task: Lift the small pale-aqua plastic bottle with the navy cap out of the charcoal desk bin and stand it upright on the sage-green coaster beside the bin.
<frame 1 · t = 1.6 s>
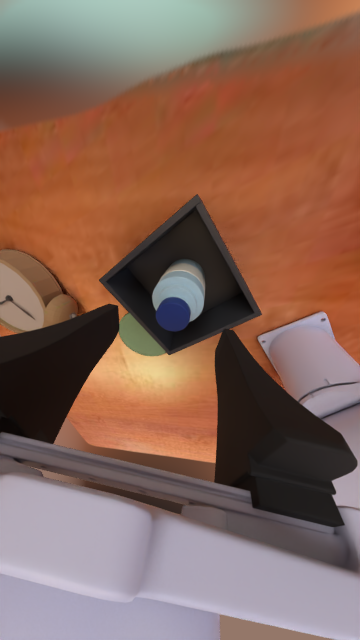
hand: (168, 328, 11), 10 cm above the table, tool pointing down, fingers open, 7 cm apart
coaster: (146, 334, 26), on the table
bin: (185, 277, 20), on the table
bottle: (180, 294, 16), in the bin
alarm clock: (44, 297, 25), on the table
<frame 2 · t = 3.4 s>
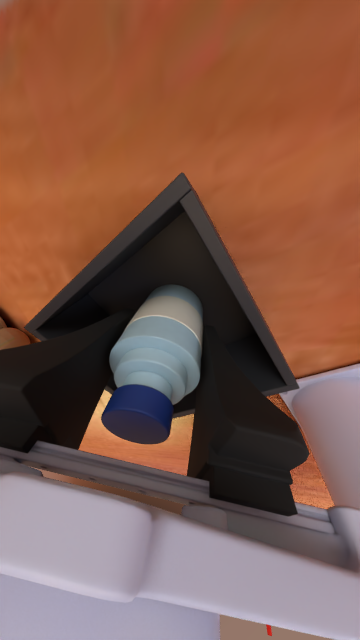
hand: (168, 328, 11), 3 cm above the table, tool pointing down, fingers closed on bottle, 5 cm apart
bin: (174, 309, 14), on the table
bottle: (161, 348, 10), in the bin, touching gripper
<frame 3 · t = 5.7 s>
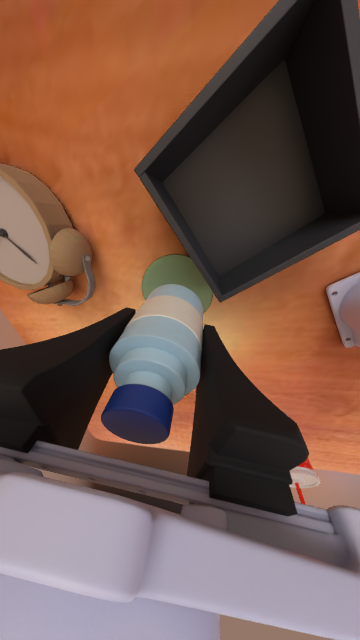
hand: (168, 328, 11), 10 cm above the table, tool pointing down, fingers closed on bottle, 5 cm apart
coaster: (177, 291, 20), on the table
beverage cup: (275, 416, 32), on the table
bin: (241, 197, 15), on the table
bottle: (161, 348, 10), point 12 cm above the table, touching gripper
alarm clock: (48, 243, 20), on the table
when the fingers open (3 cm above the table, at t = 8.3 s): bottle stays where it is, resting on coaster.
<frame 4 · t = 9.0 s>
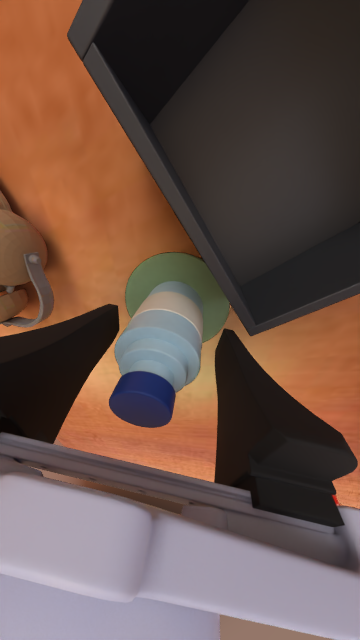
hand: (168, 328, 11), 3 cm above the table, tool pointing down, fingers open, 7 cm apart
coaster: (176, 305, 14), on the table
bin: (288, 153, 8), on the table
bottle: (163, 341, 10), on the coaster
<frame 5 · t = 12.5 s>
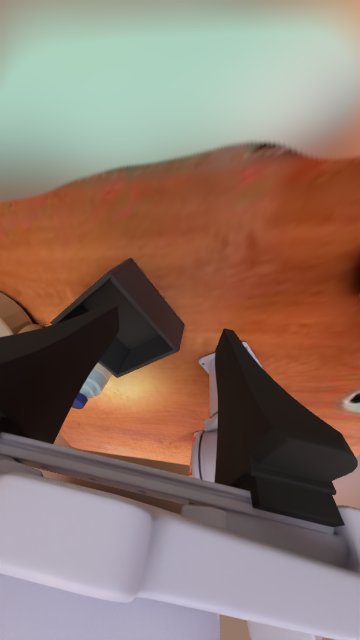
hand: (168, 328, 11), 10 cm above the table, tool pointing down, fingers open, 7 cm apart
bin: (131, 313, 24), on the table
bottle: (92, 376, 26), on the coaster
alarm clock: (18, 324, 29), on the table
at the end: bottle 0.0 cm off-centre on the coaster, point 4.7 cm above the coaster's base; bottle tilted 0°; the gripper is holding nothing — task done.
